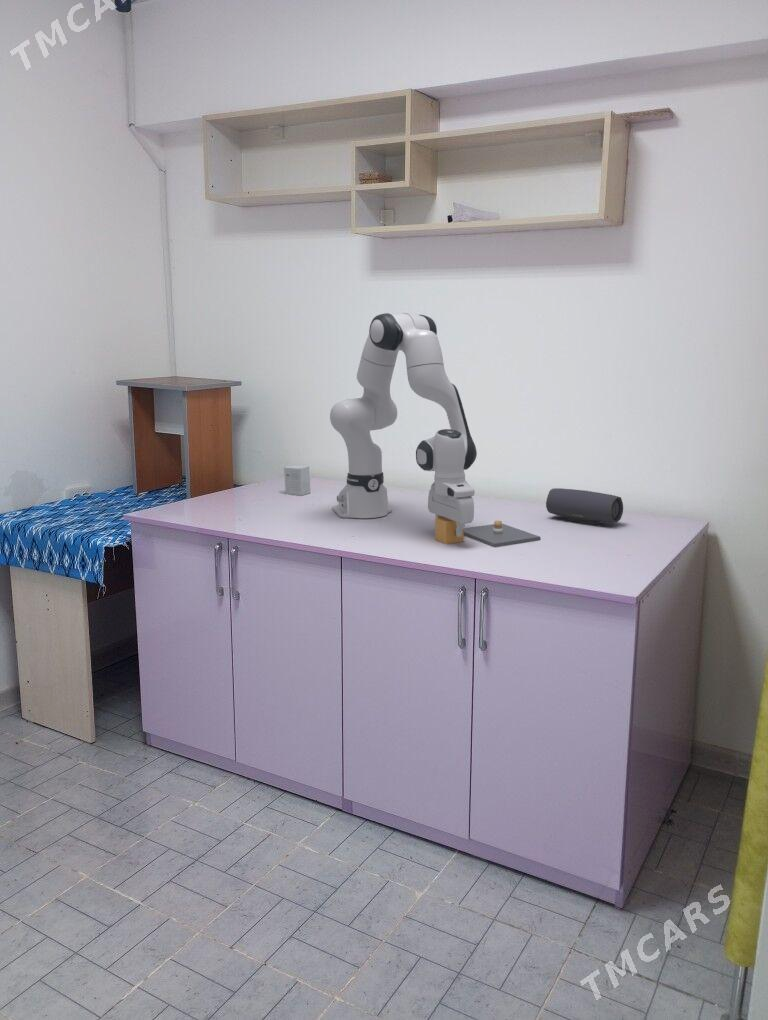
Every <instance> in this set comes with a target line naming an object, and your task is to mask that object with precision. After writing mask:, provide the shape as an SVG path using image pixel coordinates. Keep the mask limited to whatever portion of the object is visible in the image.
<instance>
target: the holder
mask: <svg viewBox="0 0 768 1020" xmlns="http://www.w3.org/2000/svg"><path fill="white" fill-rule="evenodd" d="M465 536H466V537H468V538H470V539H473V540H476V541H478V542H480V543H483V544H486V545H487V546H490V547H493V548H498V547H504V546H510V545H517V544H523V543H529V542H530V543H531V542H536V541H541V536H540V535H538V534H534V533H531V532H528V531H525V530H522V529H519V528H516V527H514V526H510V525H507V524H505V523H503V521H501V520H494V523H493V524H492V523H491V524H484V525H479V526H473V527H472V526H471V527H464V537H465Z"/></svg>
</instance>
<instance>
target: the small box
mask: <svg viewBox="0 0 768 1020" xmlns="http://www.w3.org/2000/svg"><path fill="white" fill-rule="evenodd" d="M283 470H284V471H283V472H284V488H285V489H284V490H285V491H284V492H285V494H286V495H291V496H292V495H293V496H305V495H309V494H311V479H310V478H311V476H310V466H307V465H306V466H305V465H297V464H296V465H295V464H292V465H287V466H284V468H283Z"/></svg>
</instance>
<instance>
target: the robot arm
mask: <svg viewBox="0 0 768 1020" xmlns="http://www.w3.org/2000/svg"><path fill="white" fill-rule="evenodd" d="M436 324H437V323H435V320H434V319H433V318H432V317H430V316H427V315H425V314H417V313H416V314H414V313H409V312H402V313H401V312H400V313H389V312H386V313H381V314H378V315H376V316H374V317H373V318H372V320H371V322H370V324H369V329H368V330H369V331H368V332H369V333H368V335H367V338H366V340H365V343H364V346H363V348H362V353H361V356H360V359H359V360H360V361H359V364H358V369H357V372H356V380H357V382H358V383H359V385H360V386H361V387H362V388H363V393H362V396H361V397H360V398H359V397H358V398H347V399H345V400H342V401H339V402H335V403H334V405H333V406H332V408H331V409H330V413H329V420H330V424H331V426H332V427H333V429H334V430H335V431H336V432H337V433H338V434H340V436H341V437H342V438H343V442H344V443H345V446H346V450H347V459H348V460H347V461H348V473H346V484H345V486H344V487H343V488H342V489H340V492H339V493H338V494H337V495H336V503H338V504H335V505H332V510H333V512H334V513H335V514H337V515H338V516H339V517H340V518H352V519H353V518H354V519H377V518H381V517H385V516H387V515H388V514H389V513H391V512H392V511H393V509H392V507H389V498H388V490H387V487H386V486H385V485H384V481H385V479H384V477H385V476H384V472H383V464H382V463H383V455H382V454H383V451H382V449H381V447H380V446H379V445H378V444H376V443H374V442H373V439H372V436H371V432H372V431H377V430H382V429H383V430H384V429H385V428H387V427H390V426H393V425H394V424H395V422H396V421H397V418H398V408H397V406H396V405H397V404H396V403H395V401H394V400H393V399H392V397H391V382H392V379H393V374H394V370H395V368H396V367H395V366H396V362H397V358H398V355H399V352H400V351H402V353H403V354H404V356H405V365H406V375H407V376H406V377H407V381H408V385H409V387H410V389H411V390H412V391H413V392H414V393H415V394H416V395H417V396H419V397H420V398H422V399H425V400H429V401H431V402H434V403H436V404H438V405H439V406H441V407H442V408H443V409H444V411H445V413H446V416H447V420H448V424H449V427H450V428H448V429H447V428H445V429H440V430H437V432H436V433H435V435H434V436H432V437H430V438H426V439H423V440H421V441H420V442H419V444H418V445H417V446H416V450H415V460H416V464H417V465H418V466H419V468H421V469H422V470H423V471H425V472H426V471H427V472H434V475H433V476H434V481H433V482H432V484H431V485H430V489H429V492H428V497H427V499H428V500H427V509H428V512H429V513H431V514H434V515H435V518H440V517H444V518H447V519H450V520H453V521H455V522H456V525H457V528H456V530H454V533H455V534H454V535H455V536H457V537H461V536H462V530H463V528H465V525H466V524H471V523H472V522H473V521H474V518H475V517H474V515H475V502H474V498H473V497H474V496H475V493H476V491H475V488H474V487H473V486H471V485H470V483H468V480H466V474H465V471H466V470H469V468H471V466H472V465H473V464H475V461H476V459H477V448H476V444H475V442H474V439H473V438H472V435H471V432H470V429H469V425H468V421H467V418H466V414H465V410H464V406H463V402H462V399H461V396H460V393H459V390H458V388H457V386H456V385H455V384H454V383H452V382H451V381H450V380H449V378H448V376H447V373H446V370H445V365H444V358H443V352H442V347H441V344H440V341H439V338H438V335H437V334H438V330H437V325H436Z"/></svg>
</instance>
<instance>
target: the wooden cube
mask: <svg viewBox="0 0 768 1020" xmlns="http://www.w3.org/2000/svg"><path fill="white" fill-rule="evenodd" d="M434 524H435V525H434V526H435V529H434V530H435V531H434V532H435V533H434V534H435V536H434V537H435V541H438V542H441V543H443V544H445V545H448V544H455V543H463V542H464V539H465V538H464V537H465V535H464V528H465V527H464V528H463V530H462V536H461V537H457V536H455V535H454V534H455V533H454V530H456V528H457V525H456V522H455V521H453V520H450V519H447V518H444V517H440V518H435V523H434Z"/></svg>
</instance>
